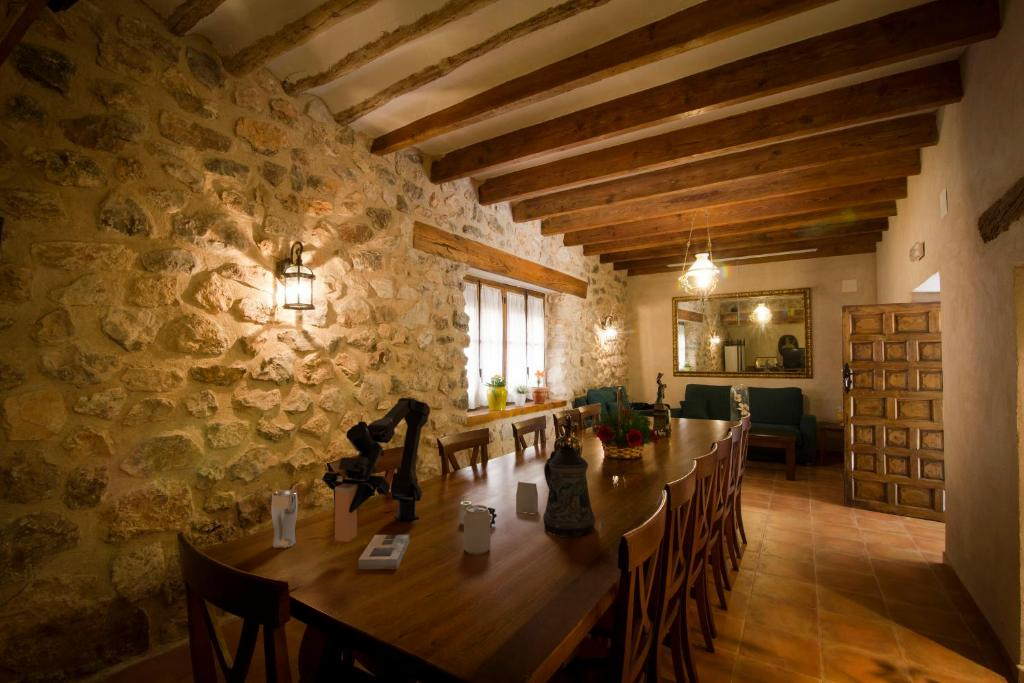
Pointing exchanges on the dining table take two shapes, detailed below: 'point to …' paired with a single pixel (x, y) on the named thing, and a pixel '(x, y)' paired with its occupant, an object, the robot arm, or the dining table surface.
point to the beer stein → (567, 495)
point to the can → (477, 529)
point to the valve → (467, 504)
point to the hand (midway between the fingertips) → (343, 511)
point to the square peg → (345, 512)
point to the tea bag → (527, 497)
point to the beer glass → (284, 517)
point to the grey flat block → (384, 552)
